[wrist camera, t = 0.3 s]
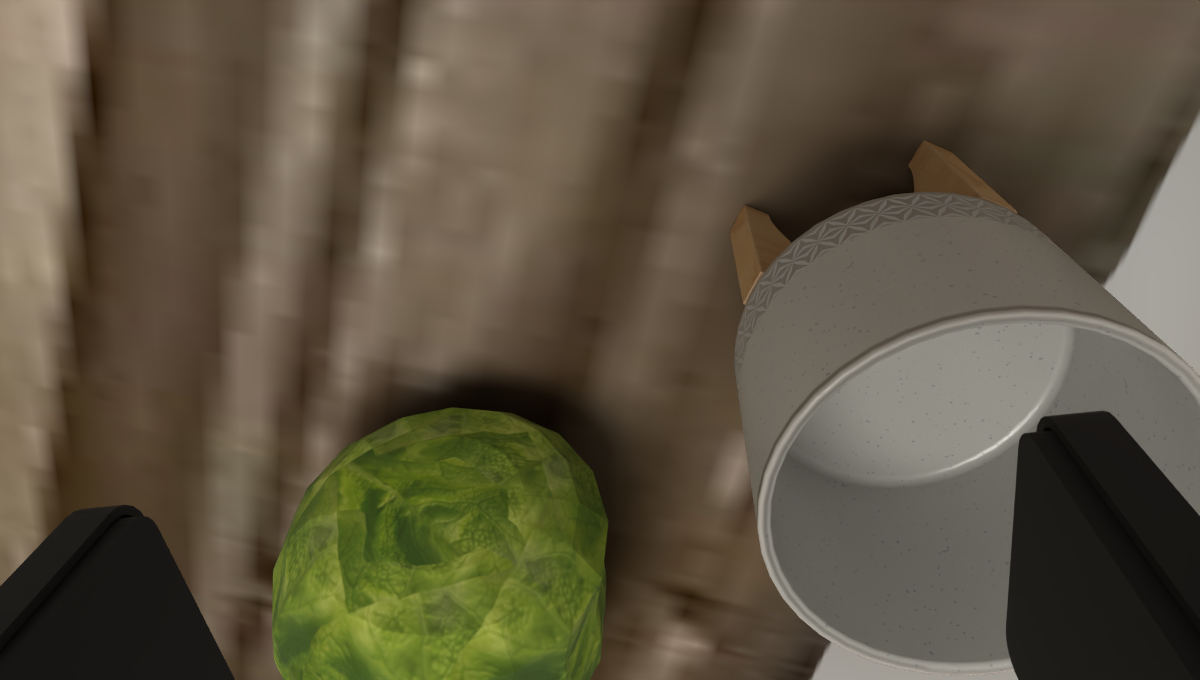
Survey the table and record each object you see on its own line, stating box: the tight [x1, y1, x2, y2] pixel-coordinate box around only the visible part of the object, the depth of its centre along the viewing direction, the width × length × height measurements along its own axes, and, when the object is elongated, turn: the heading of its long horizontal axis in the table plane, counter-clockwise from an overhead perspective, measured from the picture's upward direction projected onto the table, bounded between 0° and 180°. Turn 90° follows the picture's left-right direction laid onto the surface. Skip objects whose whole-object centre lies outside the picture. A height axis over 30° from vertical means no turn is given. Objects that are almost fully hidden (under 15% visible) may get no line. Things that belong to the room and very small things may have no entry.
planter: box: [730, 140, 1200, 675], centre depth 32 cm, size 13×13×18 cm
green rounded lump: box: [272, 407, 608, 680], centre depth 43 cm, size 16×21×15 cm
